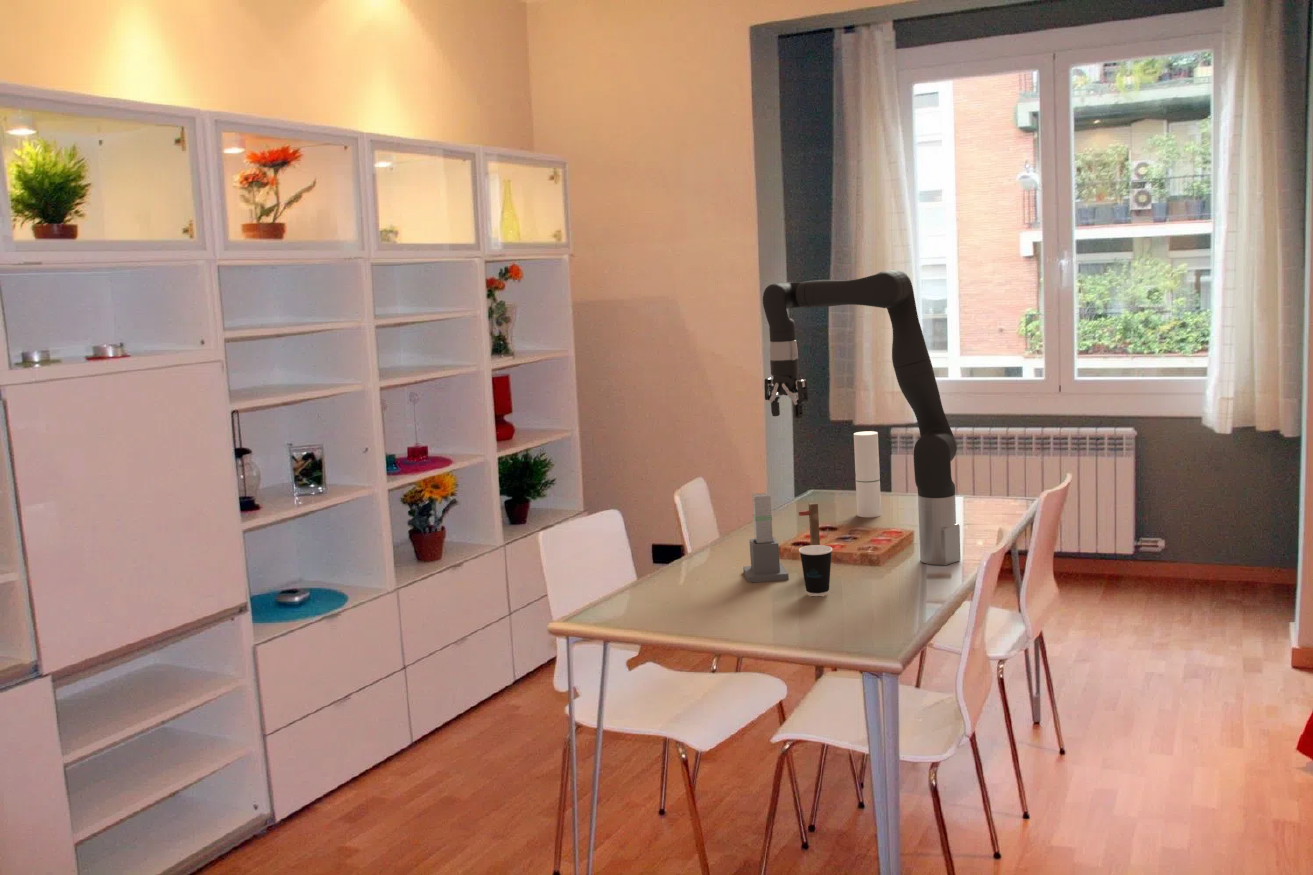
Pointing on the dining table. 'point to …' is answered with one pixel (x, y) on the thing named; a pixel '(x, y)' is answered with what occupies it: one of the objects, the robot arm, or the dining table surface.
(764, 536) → the steel column
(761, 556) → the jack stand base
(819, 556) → the dixie cup
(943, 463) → the robot arm
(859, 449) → the cylindrical container
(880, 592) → the dining table surface
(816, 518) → the height gauge
